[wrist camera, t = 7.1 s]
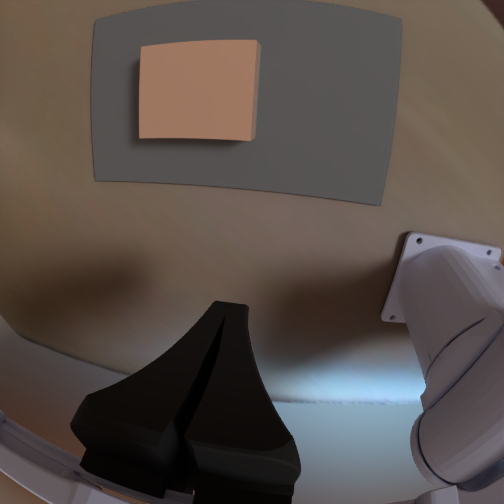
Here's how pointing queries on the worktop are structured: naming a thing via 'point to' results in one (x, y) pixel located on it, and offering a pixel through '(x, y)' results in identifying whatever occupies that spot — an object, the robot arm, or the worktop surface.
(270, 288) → the worktop surface
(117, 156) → the mat
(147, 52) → the tile
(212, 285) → the worktop surface
